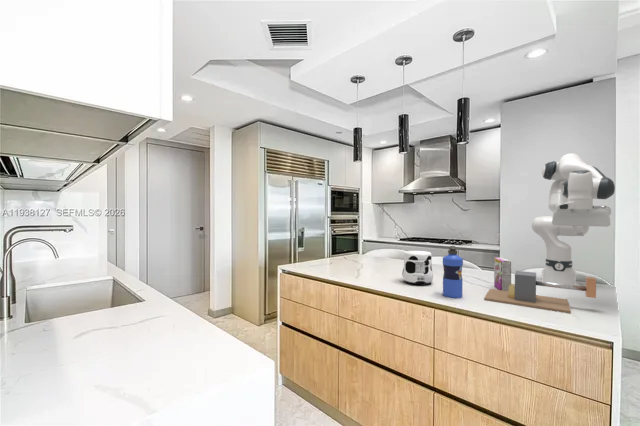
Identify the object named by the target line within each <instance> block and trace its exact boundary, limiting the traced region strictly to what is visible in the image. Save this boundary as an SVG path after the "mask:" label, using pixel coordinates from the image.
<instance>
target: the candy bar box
mask: <svg viewBox="0 0 640 426" xmlns="http://www.w3.org/2000/svg"><path fill="white" fill-rule="evenodd" d="M493 268H494V269H493V277H494V278H493V279H494V281H493V283H494V284H493V285H494V287H495V288H496V289H497V290H502V291H509V284H512V261H511V260H509V259H508V258H505V257H496V256H495V257H494V258H493Z"/></svg>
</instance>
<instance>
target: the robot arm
mask: <svg viewBox="0 0 640 426" xmlns="http://www.w3.org/2000/svg"><path fill="white" fill-rule="evenodd" d="M541 169H542V170H541V174H542V178H543V179H545V180H548V181H551V180H553V182H552V184H551V186H550V190H549V196H548V209H549V210H550V211H551V212H552V213H553V214H552V216H551V215H549V216H548V215H543V216H536V217H534V219H533V220H532V222H531V229H532V231H533V232H534V233H535V234H536V235H538V236H539V237H540V238H541V239H542V240H543V241H544V244H545V248H546V258H545V266H544V267H543V268H542V269H541V278H540V279H538V280H537V281H541V282H550V283H559V284H568V285H577V286H581V284H579V283H578V282H577V274H576V273H577V272H576V271H575V269H573V261H572V247H571V245H569V244H568V243H567V242H564V241H562V240H560V239H559V238H558V236H561V237H563V236H564V237H584V236H585V235H586V234H587V233H588V232H589V230H590V227H603V228H604V227H607V228H608V227H610V225H611V217H610V216H611V215H612V208H611V207H609V206H607V205H594V200H607V199H609V198H611V197H612V196H614V194H615V190H616V187H615V183H614V181H613V180H612V179H611V178H610V177H608V176H606V175H605V174H604V173H603V172H602V171H601V170H600V169H599V168H597V167H595V166H593V165H591V164H589V163H585V162H584V160H583V159H582V157H581V156H580V155H578V154H576V153H572V152H571V153H566V154H564V155H562V156H561V157H560V159H559V160H558V161H554V160H553V161H549V162H547V163H545V164H544V166H543V168H541Z"/></svg>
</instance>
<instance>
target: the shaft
mask: <svg viewBox="0 0 640 426" xmlns="http://www.w3.org/2000/svg"><path fill="white" fill-rule="evenodd" d="M536 286H540V287H547V288H554V289H555V288H556V289H557V288H558V289H564V290H573V291H581V292H584V294H585V297H586V298H593V299H596V298H597V278H596V277H593V276H585V285H584V286H583V285H580V286H577V285H568V284H559V283H550V282H541V281H538V280H536Z"/></svg>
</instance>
